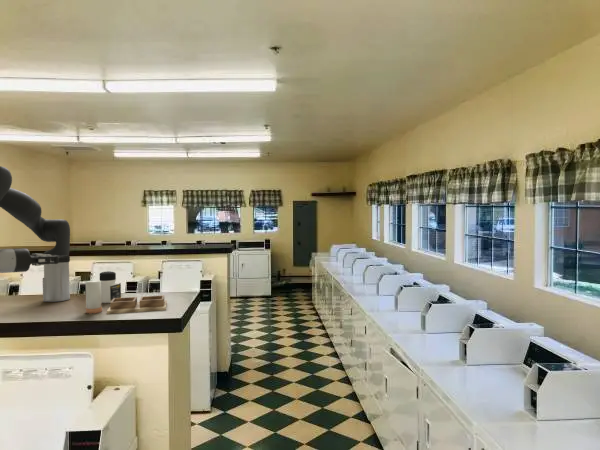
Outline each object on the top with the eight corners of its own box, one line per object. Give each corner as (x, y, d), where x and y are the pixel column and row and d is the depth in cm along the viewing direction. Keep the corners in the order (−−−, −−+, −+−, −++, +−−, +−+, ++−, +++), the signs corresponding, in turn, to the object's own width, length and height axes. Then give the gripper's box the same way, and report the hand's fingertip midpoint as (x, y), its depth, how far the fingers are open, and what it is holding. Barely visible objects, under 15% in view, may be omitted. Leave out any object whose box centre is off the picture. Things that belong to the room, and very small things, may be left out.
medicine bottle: (110, 303, 181) (110, 273, 180) (94, 302, 182) (94, 272, 182) (121, 299, 188) (120, 270, 187) (105, 299, 189) (105, 270, 189)
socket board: (106, 313, 162) (106, 304, 161) (112, 306, 175) (112, 297, 175) (165, 310, 167) (165, 300, 167) (166, 302, 180) (166, 293, 180)
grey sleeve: (84, 314, 162) (83, 283, 162) (87, 310, 167) (86, 280, 167) (100, 313, 163) (100, 282, 163) (103, 309, 168) (102, 280, 168)
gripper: (18, 249, 140) (73, 247, 152) (3, 248, 149) (55, 246, 162) (18, 273, 140) (73, 270, 152) (2, 271, 149) (55, 268, 162)
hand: (64, 258), depth 157 cm, fingers open, 8 cm apart
